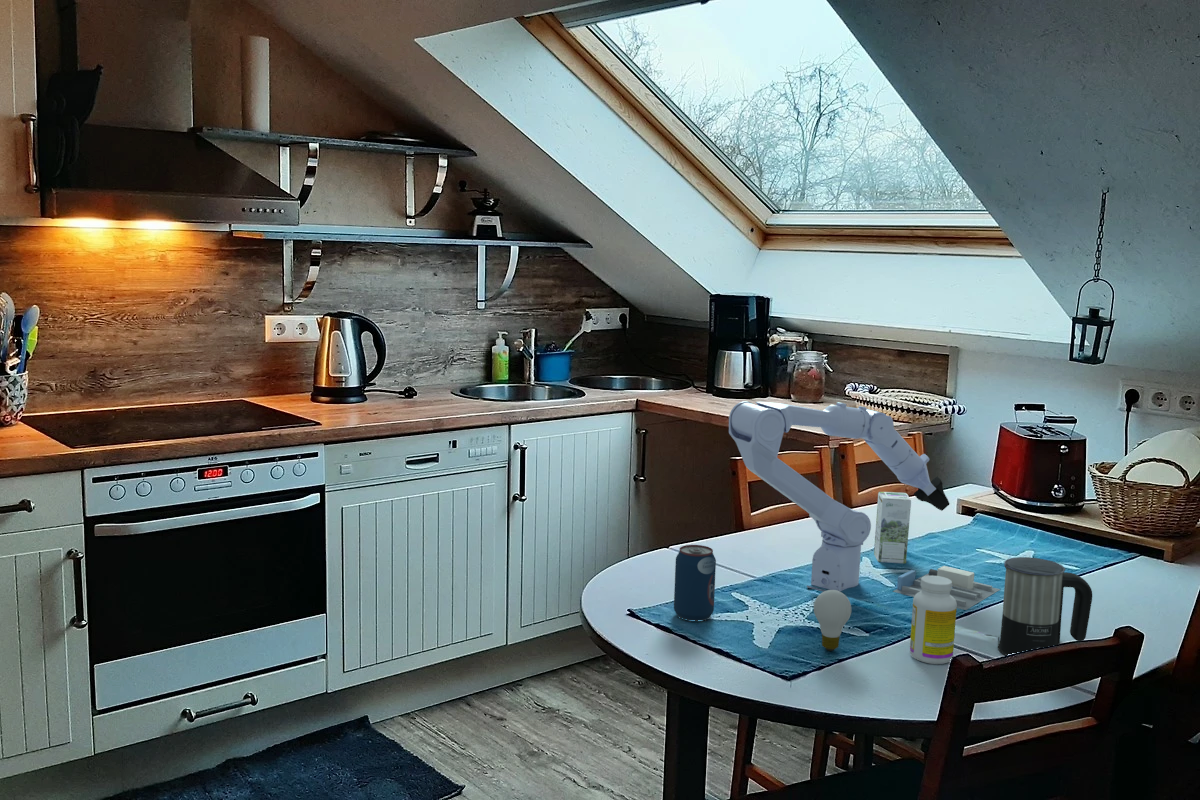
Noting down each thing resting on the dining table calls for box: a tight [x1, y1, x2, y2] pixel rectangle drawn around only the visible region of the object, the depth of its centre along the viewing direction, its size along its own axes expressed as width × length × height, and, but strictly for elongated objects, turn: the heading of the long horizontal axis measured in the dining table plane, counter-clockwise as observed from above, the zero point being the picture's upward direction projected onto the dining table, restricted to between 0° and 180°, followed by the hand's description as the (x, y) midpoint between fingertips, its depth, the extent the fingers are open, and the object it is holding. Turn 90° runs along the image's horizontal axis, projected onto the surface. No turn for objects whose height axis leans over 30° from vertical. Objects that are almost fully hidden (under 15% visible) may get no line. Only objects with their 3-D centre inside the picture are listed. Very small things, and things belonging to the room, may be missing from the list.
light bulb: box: [813, 589, 852, 652], centre depth 173 cm, size 6×6×10 cm
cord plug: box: [928, 565, 975, 589], centre depth 205 cm, size 3×8×3 cm, turn 49°
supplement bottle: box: [909, 575, 958, 665], centre depth 171 cm, size 7×7×13 cm
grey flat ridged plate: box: [892, 569, 1001, 611], centre depth 202 cm, size 16×14×4 cm
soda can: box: [673, 544, 717, 621], centre depth 187 cm, size 7×7×12 cm
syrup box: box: [873, 491, 912, 564], centre depth 220 cm, size 6×6×14 cm
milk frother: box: [997, 556, 1093, 656], centre depth 178 cm, size 14×16×15 cm
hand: (936, 497), depth 212 cm, fingers open, 7 cm apart
